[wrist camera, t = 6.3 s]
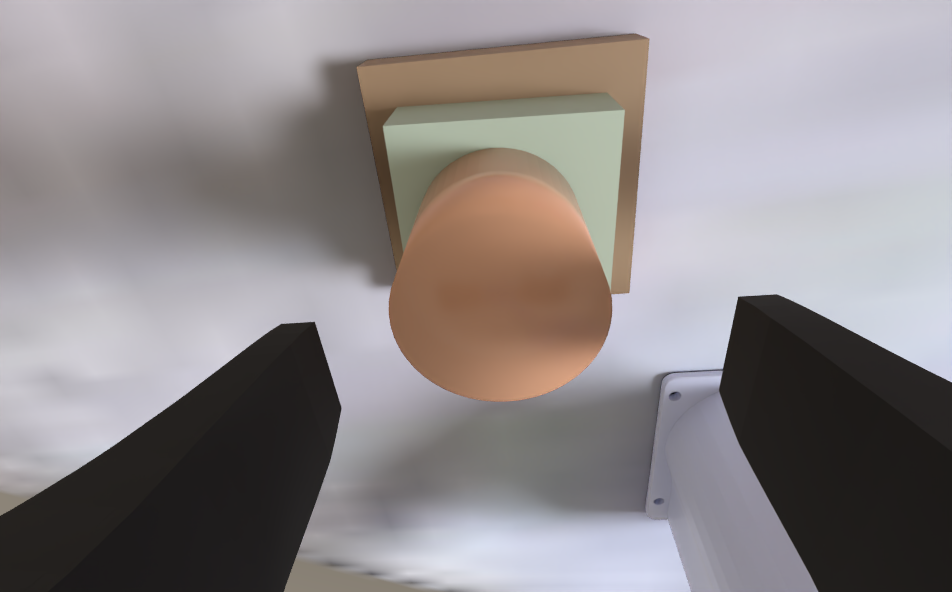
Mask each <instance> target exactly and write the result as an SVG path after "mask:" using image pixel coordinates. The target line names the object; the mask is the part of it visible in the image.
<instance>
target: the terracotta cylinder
mask: <svg viewBox="0 0 952 592" xmlns="http://www.w3.org/2000/svg"><path fill="white" fill-rule="evenodd" d="M611 317H612V297H611V292H610V287H609V284H608V281H607V279H606V276H605V273H604V271H603V268H602V265H601V263H600V260H599V258H598V255H597V252H596V250H595V247H594V244H593V242H592V239H591V236H590V234H589V231H588V228H587V226H586V223H585V220H584V218H583V215H582V212H581V210H580V207H579V204H578V202H577V199H576V196H575V194H574V192H573V190H572V188H571V186H570V184H569V183H568V182H567V180H566V179H565V178H564V176H563V175H562V174H561V173H560V172H559V171H558V170H557V169H556V168H555V167H554V166H552V165H551V164H550V163H548V162H547V161H545V160H544V159H542V158H540V157H538V156H536V155H534V154H531V153H529V152H526V151H522V150H518V149H512V148H489V149H482V150H478V151H475V152H472V153H469V154H466V155H464V156H462V157H460V158H458V159H456V160H455V161H453V162H452V163H450V164H449V165H448V166H446V167H445V168H444V169H443V170H442V171H441V172H440V173H439V174H438V175H437V176H436V177H435V178H434V179H433V181H432V182H431V184H430V185H429V187H428V189H427V191H426V193H425V195H424V197H423V199H422V202H421V205H420V208H419V211H418V214H417V216H416V219H415V222H414V225H413V228H412V230H411V233H410V236H409V239H408V242H407V245H406V247H405V250H404V253H403V256H402V259H401V261H400V264H399V267H398V270H397V273H396V275H395V278H394V281H393V284H392V287H391V292H390V298H389V318H390V325H391V329H392V332H393V335H394V338H395V340H396V342H397V344H398V346H399V348H400V350H401V351H402V353H403V354H404V356H405V357H406V359H407V360H408V361H409V362H410V363H411V365H412V366H413V367H414V368H415V369H416V370H417V371H418V372H420V373H421V374H422V375H423V376H424V377H426V378H427V379H428V380H430V381H431V382H433V383H434V384H436V385H438V386H440V387H442V388H443V389H445V390H448V391H450V392H453V393H455V394H458V395H461V396H464V397H468V398H472V399H477V400H484V401H494V402H502V401H517V400H524V399H528V398H533V397H536V396H540V395H543V394H546V393H548V392H551V391H553V390H555V389H558V388H559V387H561V386H563V385H565V384H566V383H568V382H570V381H571V380H572V379H574V378H575V377H576V376H578V375H579V374H580V373H581V372H582V371H583V370H584V369H586V368H587V367H588V366H589V364H590V363H591V362H592V361H593V360H594V358H595V357H596V356H597V354H598V353H599V351H600V349H601V348H602V346H603V344H604V342H605V340H606V337H607V335H608V331H609V328H610V324H611Z"/></svg>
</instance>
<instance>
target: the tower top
mask: <svg viewBox="0 0 952 592" xmlns="http://www.w3.org/2000/svg"><path fill="white" fill-rule="evenodd" d="M624 115H625V110H624V109H623V108H622V107H621V106H620V105H619V104H618V103H617V102H616V101H615V100H614V99H613V98H612V97H611V96H610V95H609V94H608V93H594V94H580V95H565V96H551V97H536V98H522V99H508V100H493V101H479V102H464V103H450V104H435V105H421V106H406V107H397V108H396V109H395V110H394V112H393V113H392V114H391V116H390V117H389V118H388V120H387V121H386V122H385V124H384V125H383V131H384V137H385V143H386V149H387V155H388V161H389V167H390V173H391V180H392V186H393V192H394V198H395V204H396V210H397V216H398V222H399V229H400V235H401V241H402V247H403V253H404V250H405V247H406V245H407V242H408V239H409V236H410V233H411V230H412V228H413V225H414V222H415V219H416V216H417V214H418V211H419V208H420V205H421V202H422V199H423V197H424V195H425V193H426V191H427V189H428V187H429V185H430V184H431V182H432V181H433V179H434V178H435V177H436V176H437V175H438V174H439V173H440V172H441V171H442V170H443V169H444V168H445V167H446V166H448V165H449V164H450V163H452V162H453V161H455V160H456V159H458V158H460V157H462V156H464V155H466V154H469V153H472V152H475V151H478V150H482V149H489V148H512V149H518V150H522V151H526V152H529V153H531V154H534V155H536V156H538V157H540V158H542V159H544V160H545V161H547V162H548V163H550V164H551V165H552V166H554V167H555V168H556V169H557V170H558V171H559V172H560V173H561V174H562V175H563V176H564V178H565V179H566V180H567V182H568V183H569V184H570V186H571V188H572V190H573V192H574V194H575V196H576V199H577V202H578V204H579V207H580V210H581V212H582V215H583V218H584V220H585V223H586V226H587V228H588V231H589V234H590V236H591V239H592V242H593V244H594V247H595V250H596V252H597V255H598V258H599V260H600V263H601V265H602V268H603V271H604V273H605V276H606V279H607V281H608V284H609V287H610V290H611V278H612V265H613V253H614V240H615V228H616V215H617V203H618V190H619V178H620V165H621V153H622V140H623V128H624Z"/></svg>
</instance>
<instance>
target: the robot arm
mask: <svg viewBox="0 0 952 592" xmlns="http://www.w3.org/2000/svg"><path fill="white" fill-rule="evenodd" d="M672 392H677V393H675V394H672V395H670V394H671V393H672ZM340 413H341V405H340V402H339V399H338V395H337V392H336V389H335V386H334V382H333V379H332V376H331V373H330V370H329V366H328V363H327V360H326V357H325V353H324V350H323V347H322V344H321V341H320V337H319V334H318V331H317V328H316V324H315V322H306V323H290V324H281V325H279V326H277V327H276V328H274V329H273V330H271V331H270V332H268V333H267V334H265V335H264V336H263V337H261V338H260V339H258V340H257V341H256V342H254V343H253V344H252V345H250V346H249V347H248V348H246V349H245V350H244V351H242V352H241V353H240V354H238V355H237V356H236V357H235V358H233V359H232V360H231V361H229V362H228V363H227V364H225V365H224V366H223V367H221V368H220V369H219V370H217V371H216V372H215V373H214V374H212V375H211V376H210V377H208V378H207V379H206V380H204V381H203V382H202V383H200V384H199V385H198V386H196V387H195V388H194V389H192V390H191V391H190V392H188V393H187V394H186V395H185V396H183V397H182V398H180V399H179V400H178V401H176V402H175V403H174V404H172V405H171V406H169V407H168V408H167V409H165V410H164V411H162V412H161V413H159V414H158V415H157V416H155V417H154V418H152V419H151V420H150V421H148V422H147V423H145V424H144V425H143V426H141V427H140V428H138V429H137V430H135V431H134V432H133V433H131V434H130V435H128V436H127V437H126V438H124V439H123V440H121V441H120V442H119V443H117V444H116V445H114V446H113V447H111V448H110V449H108V450H107V451H105V452H104V453H102V454H101V455H99V456H98V457H96V458H95V459H93V460H92V461H90V462H88V463H87V464H85V465H84V466H82V467H81V468H79V469H78V470H76V471H74V472H73V473H71V474H70V475H68V476H66V477H65V478H63V479H61V480H60V481H58V482H57V483H55V484H53V485H52V486H50V487H48V488H47V489H45V490H43V491H42V492H40V493H39V494H37V495H35V496H34V497H32V498H30V499H29V500H27V501H25V502H24V503H22V504H20V505H19V506H17V507H15V508H14V509H12V510H10V511H8V512H6V513H5V514H3V515H1V516H0V592H284V589H285V586H286V583H287V580H288V578H289V574H290V572H291V569H292V566H293V564H294V561H295V558H296V555H297V553H298V550H299V547H300V544H301V542H302V539H303V536H304V533H305V530H306V528H307V525H308V522H309V519H310V517H311V514H312V511H313V508H314V506H315V503H316V500H317V497H318V494H319V491H320V489H321V486H322V483H323V480H324V477H325V474H326V472H327V469H328V466H329V463H330V460H331V455H332V451H333V447H334V442H335V438H336V433H337V428H338V423H339V418H340ZM645 510H646V514H647V516H648V517H649V518H651V519H654V520H662V519H668V521H669V525H670V528H671V531H672V534H673V537H674V540H675V543H676V546H677V549H678V552H679V555H680V558H681V561H682V565H683V568H684V571H685V574H686V577H687V580H688V583H689V586H690V589H691V592H952V382H950V381H948V380H946V379H944V378H942V377H940V376H937V375H935V374H933V373H931V372H929V371H927V370H925V369H923V368H921V367H919V366H917V365H916V364H914V363H912V362H910V361H908V360H906V359H904V358H902V357H900V356H898V355H896V354H894V353H892V352H890V351H888V350H886V349H884V348H882V347H881V346H879V345H877V344H875V343H873V342H871V341H869V340H867V339H865V338H863V337H861V336H860V335H858V334H856V333H854V332H852V331H850V330H848V329H846V328H844V327H842V326H841V325H839V324H837V323H835V322H833V321H831V320H829V319H827V318H825V317H823V316H821V315H819V314H817V313H815V312H813V311H812V310H810V309H808V308H806V307H804V306H801V305H799V304H797V303H795V302H793V301H791V300H789V299H786V298H784V297H782V296H779V295H760V296H743V297H738V301H737V305H736V310H735V315H734V320H733V325H732V329H731V334H730V339H729V344H728V348H727V353H726V358H725V363H724V368H723V371H703V372H683V373H672V374H669V375H667V376H666V377H665V378H664V379H663V381H662V385H661V392H660V400H659V408H658V415H657V423H656V430H655V438H654V446H653V453H652V461H651V468H650V476H649V484H648V491H647V499H646V506H645Z"/></svg>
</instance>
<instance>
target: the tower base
mask: <svg viewBox="0 0 952 592" xmlns="http://www.w3.org/2000/svg"><path fill="white" fill-rule="evenodd" d="M648 49H649V38H646V37H644V36H641V35H638V34H627V35H617V36H607V37H597V38H586V39H576V40H566V41H556V42H546V43H535V44H525V45H515V46H505V47H494V48H484V49H474V50H464V51H454V52H443V53H433V54H423V55H413V56H403V57H392V58H382V59H372V60H367V61H365V62H364V63H362V64H360V65H359V66H357V67H356V68H357V73H358V78H359V83H360V88H361V93H362V98H363V103H364V108H365V113H366V118H367V123H368V128H369V133H370V138H371V144H372V149H373V154H374V159H375V164H376V169H377V174H378V179H379V184H380V189H381V194H382V199H383V204H384V209H385V214H386V219H387V224H388V229H389V234H390V239H391V244H392V250H393V255H394V260H395V265H396V270H398V267H399V264H400V261H401V259H402V256H403V247H402V241H401V235H400V229H399V222H398V216H397V210H396V204H395V198H394V192H393V186H392V180H391V173H390V167H389V161H388V155H387V149H386V143H385V137H384V131H383V125H384V124H385V122H386V121H387V120H388V118H389V117H390V116H391V114H392V113H393V112H394V110H395V109H396V108H397V107H406V106H421V105H435V104H450V103H464V102H479V101H493V100H508V99H522V98H536V97H551V96H565V95H580V94H594V93H608V94H609V95H610V96H611V97H612V98H613V99H614V100H615V101H616V102H617V103H618V104H619V105H620V106H621V107H622V108H623V109H624V110H625V115H624V128H623V140H622V153H621V165H620V178H619V190H618V203H617V215H616V228H615V240H614V253H613V265H612V278H611V290H610V292H611V294H622V293H629V290H630V278H631V265H632V252H633V240H634V227H635V214H636V202H637V189H638V176H639V163H640V151H641V138H642V125H643V113H644V100H645V87H646V75H647V62H648Z"/></svg>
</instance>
